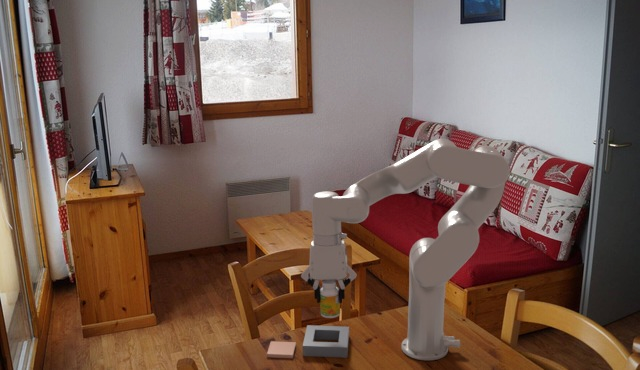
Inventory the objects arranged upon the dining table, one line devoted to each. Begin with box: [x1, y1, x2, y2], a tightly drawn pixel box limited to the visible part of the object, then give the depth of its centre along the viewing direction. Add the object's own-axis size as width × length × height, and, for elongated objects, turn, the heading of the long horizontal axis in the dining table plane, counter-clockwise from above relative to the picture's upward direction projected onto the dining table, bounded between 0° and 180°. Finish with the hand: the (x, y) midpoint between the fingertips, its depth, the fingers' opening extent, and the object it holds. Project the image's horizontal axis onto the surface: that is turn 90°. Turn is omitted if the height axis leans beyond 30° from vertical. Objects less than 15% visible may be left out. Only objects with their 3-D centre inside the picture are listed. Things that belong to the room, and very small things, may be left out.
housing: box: [302, 324, 350, 359], centre depth 179 cm, size 12×12×3 cm
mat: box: [266, 340, 297, 359], centre depth 177 cm, size 7×7×1 cm
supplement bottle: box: [319, 280, 341, 319], centre depth 176 cm, size 5×5×10 cm
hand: (329, 300), depth 176 cm, fingers closed on supplement bottle, 5 cm apart
